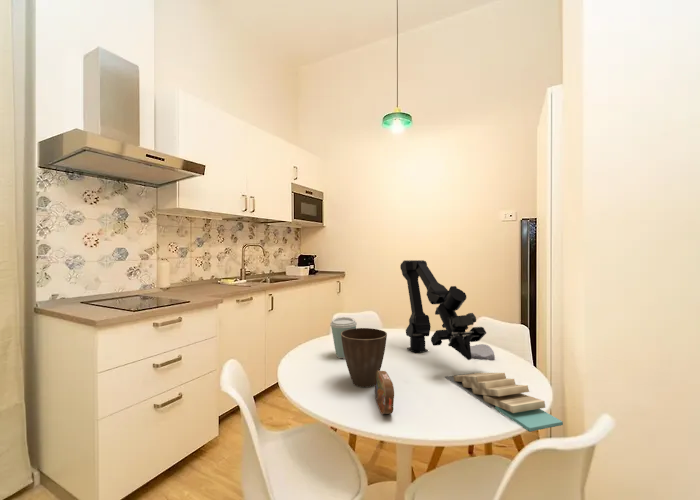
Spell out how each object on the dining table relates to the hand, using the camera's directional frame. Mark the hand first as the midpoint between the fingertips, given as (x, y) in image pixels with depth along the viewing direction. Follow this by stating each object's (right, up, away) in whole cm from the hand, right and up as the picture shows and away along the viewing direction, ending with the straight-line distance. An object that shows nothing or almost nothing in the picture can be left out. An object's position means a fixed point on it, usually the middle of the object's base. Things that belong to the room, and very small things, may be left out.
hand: (469, 359), depth 101 cm
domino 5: (+5, -7, -16) cm, 18 cm away
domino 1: (0, -6, +1) cm, 7 cm away
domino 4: (+3, -6, -12) cm, 14 cm away
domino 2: (+1, -6, -3) cm, 7 cm away
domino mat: (+1, -7, -5) cm, 9 cm away
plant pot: (-34, -8, 0) cm, 35 cm away
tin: (-30, -8, -15) cm, 34 cm away
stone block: (+13, -8, +25) cm, 30 cm away
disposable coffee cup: (-41, -8, +25) cm, 49 cm away
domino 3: (+2, -6, -7) cm, 10 cm away
